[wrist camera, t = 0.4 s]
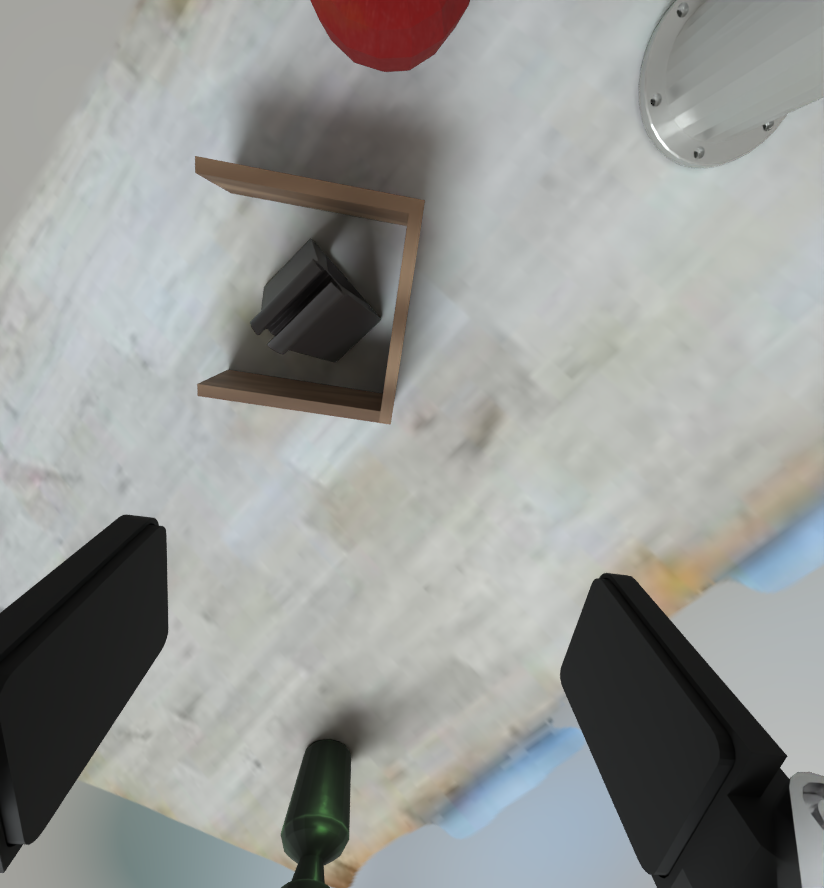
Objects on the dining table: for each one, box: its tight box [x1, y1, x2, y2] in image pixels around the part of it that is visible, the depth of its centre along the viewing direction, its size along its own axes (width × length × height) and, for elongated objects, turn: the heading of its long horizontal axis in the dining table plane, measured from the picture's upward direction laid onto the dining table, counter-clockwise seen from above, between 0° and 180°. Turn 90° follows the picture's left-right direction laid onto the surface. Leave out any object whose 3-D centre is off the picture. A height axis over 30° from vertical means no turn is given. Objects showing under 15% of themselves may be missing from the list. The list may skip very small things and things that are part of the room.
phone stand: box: [250, 239, 381, 362], centre depth 33 cm, size 9×6×12 cm, turn 41°
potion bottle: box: [281, 740, 351, 888], centre depth 51 cm, size 8×8×18 cm
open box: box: [195, 156, 425, 424], centre depth 35 cm, size 17×16×6 cm
